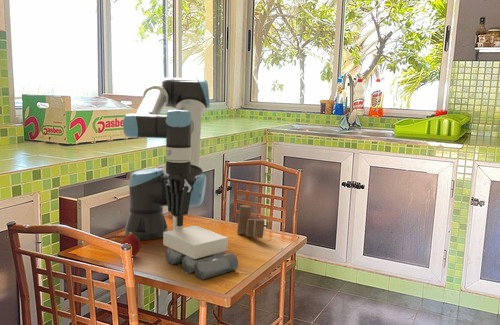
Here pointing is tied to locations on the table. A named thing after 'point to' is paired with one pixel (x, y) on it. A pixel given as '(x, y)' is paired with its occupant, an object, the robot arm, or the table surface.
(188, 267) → the roller front
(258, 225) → the wooden block set
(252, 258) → the table surface
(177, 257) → the cylinder
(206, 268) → the roller
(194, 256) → the slab
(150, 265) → the table surface
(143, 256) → the table surface
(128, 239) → the onion
